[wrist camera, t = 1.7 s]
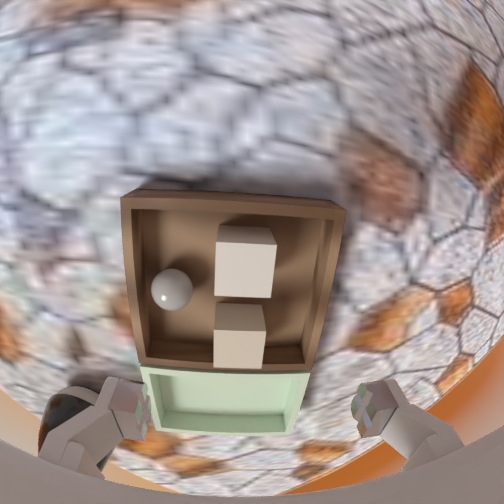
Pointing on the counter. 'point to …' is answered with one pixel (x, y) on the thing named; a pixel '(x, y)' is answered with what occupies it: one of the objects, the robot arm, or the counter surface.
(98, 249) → the counter surface
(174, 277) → the round pebble
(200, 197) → the walnut crate
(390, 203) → the counter surface
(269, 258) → the small beige block
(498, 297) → the counter surface
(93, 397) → the black rounded cone
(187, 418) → the green tray
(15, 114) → the counter surface
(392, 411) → the robot arm
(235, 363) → the beige cube
